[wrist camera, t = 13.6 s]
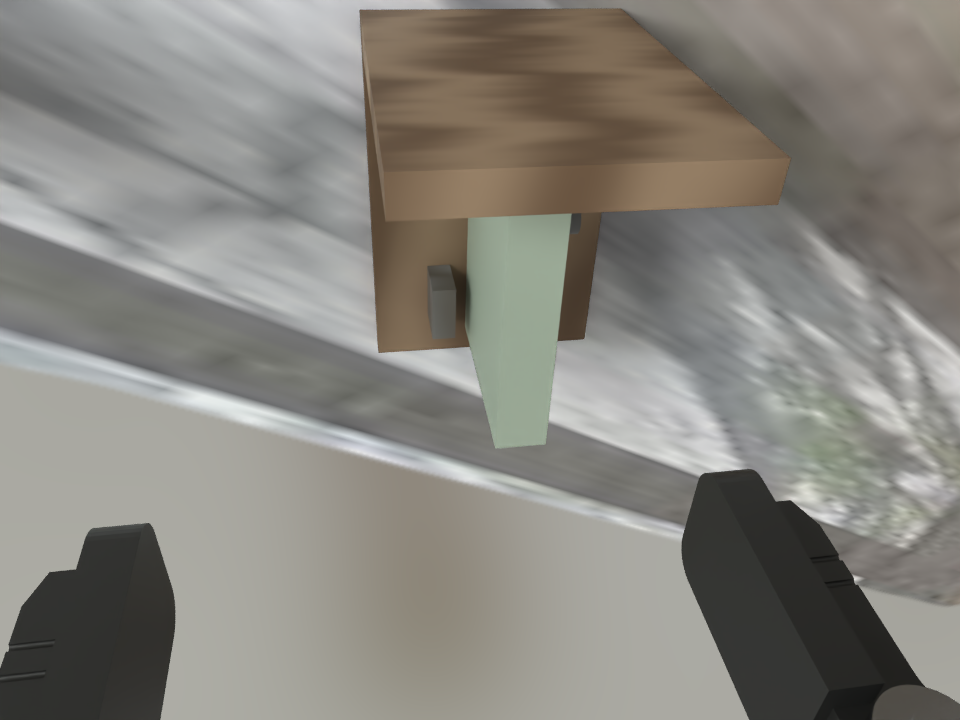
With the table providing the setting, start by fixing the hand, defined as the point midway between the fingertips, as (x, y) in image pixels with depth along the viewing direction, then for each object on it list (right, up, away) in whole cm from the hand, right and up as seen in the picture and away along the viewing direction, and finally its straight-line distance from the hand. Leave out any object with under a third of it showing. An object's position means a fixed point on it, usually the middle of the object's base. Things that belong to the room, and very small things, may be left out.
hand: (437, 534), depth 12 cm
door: (+1, +9, +30) cm, 31 cm away
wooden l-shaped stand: (+1, +11, +30) cm, 32 cm away
